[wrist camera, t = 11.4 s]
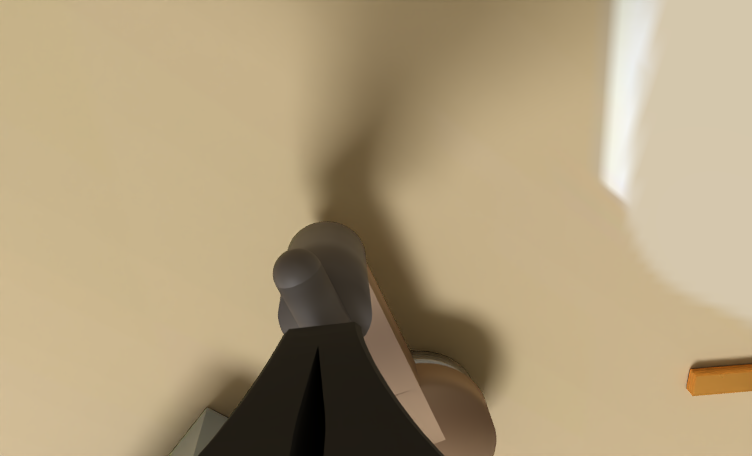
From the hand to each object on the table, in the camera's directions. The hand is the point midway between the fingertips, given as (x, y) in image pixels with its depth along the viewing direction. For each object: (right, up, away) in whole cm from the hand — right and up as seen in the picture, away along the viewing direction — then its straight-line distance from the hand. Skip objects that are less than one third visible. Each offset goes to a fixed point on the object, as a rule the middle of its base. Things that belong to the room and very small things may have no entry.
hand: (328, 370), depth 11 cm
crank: (+1, -1, +7) cm, 7 cm away
